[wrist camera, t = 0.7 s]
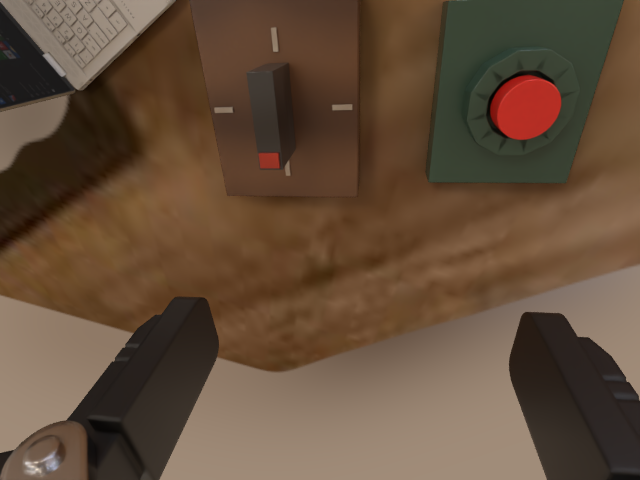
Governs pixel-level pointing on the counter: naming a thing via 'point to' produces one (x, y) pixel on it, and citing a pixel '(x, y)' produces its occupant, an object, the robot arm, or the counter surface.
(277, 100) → the grip knob
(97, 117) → the counter surface
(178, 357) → the robot arm
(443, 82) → the button block
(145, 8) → the laptop
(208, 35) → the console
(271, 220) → the counter surface
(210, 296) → the counter surface
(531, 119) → the red button
